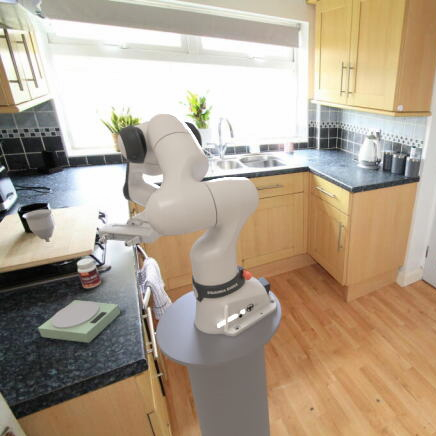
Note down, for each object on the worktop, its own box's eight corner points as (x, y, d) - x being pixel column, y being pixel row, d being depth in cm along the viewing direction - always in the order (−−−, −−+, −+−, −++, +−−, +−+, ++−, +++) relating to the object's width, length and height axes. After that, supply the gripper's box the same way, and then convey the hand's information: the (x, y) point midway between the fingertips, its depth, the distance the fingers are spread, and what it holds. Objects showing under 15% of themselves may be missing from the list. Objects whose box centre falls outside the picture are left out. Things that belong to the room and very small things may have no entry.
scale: (77, 308, 90) (74, 298, 88) (120, 313, 89) (117, 302, 87) (41, 337, 80) (36, 326, 78) (89, 342, 79) (85, 331, 77)
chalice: (41, 267, 107) (22, 219, 100) (41, 259, 112) (22, 212, 105) (68, 261, 112) (51, 214, 104) (67, 253, 116) (51, 207, 109)
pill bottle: (84, 290, 97) (76, 267, 94) (81, 283, 100) (74, 261, 97) (102, 284, 100) (95, 262, 97) (99, 278, 103) (92, 255, 100)
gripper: (112, 216, 120) (83, 232, 108) (163, 220, 118) (139, 237, 106) (116, 231, 123) (88, 248, 110) (166, 235, 121) (143, 254, 108)
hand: (113, 243), depth 108 cm, fingers open, 8 cm apart
